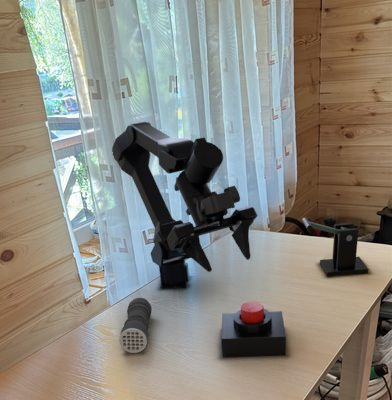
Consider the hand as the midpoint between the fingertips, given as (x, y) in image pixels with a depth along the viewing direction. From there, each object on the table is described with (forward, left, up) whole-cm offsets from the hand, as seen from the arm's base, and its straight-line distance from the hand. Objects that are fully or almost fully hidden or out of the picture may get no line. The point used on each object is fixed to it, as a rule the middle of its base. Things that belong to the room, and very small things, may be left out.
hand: (230, 264), depth 102 cm
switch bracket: (+27, +26, -13) cm, 40 cm away
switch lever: (+23, +25, -4) cm, 34 cm away
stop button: (+4, -8, -8) cm, 12 cm away
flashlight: (-20, -3, -14) cm, 24 cm away
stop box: (+4, -8, -13) cm, 16 cm away
